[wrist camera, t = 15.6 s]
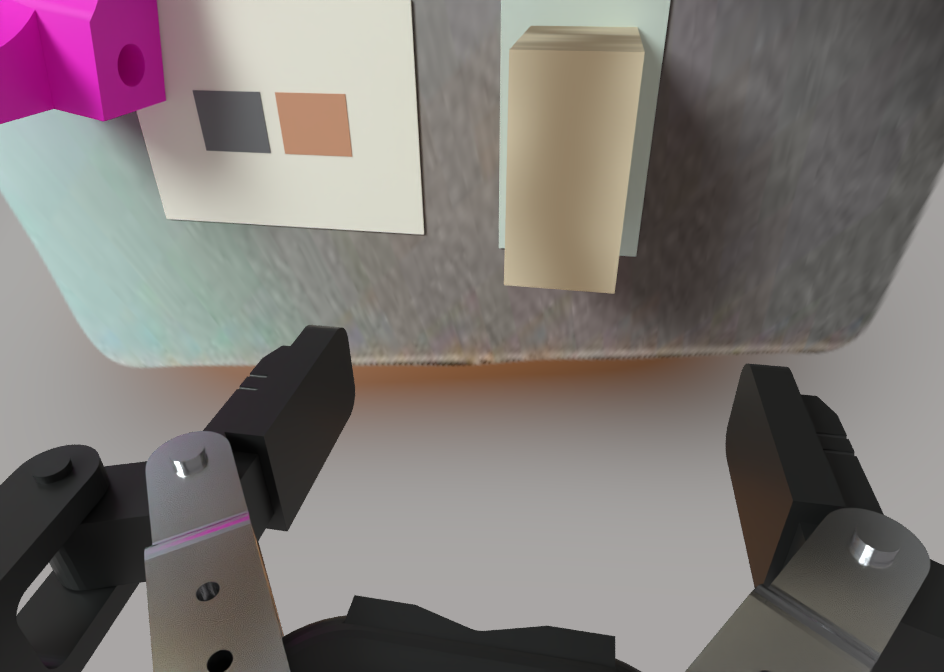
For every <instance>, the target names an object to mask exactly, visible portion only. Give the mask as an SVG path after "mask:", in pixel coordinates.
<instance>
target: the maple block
mask: <svg viewBox="0 0 944 672" xmlns="http://www.w3.org/2000/svg"><path fill="white" fill-rule="evenodd" d="M644 55H645V51H644V48H643V44H642V41H641V37H640V34H639V31H638V27H595V26H530V27H529V28H528V29H527V30H526V31H525V33H524V34H523V35H522V36H521V37H520V38H519V39H518V40H517V41H516V43H515V44H514V45H513V46H512V47H511V48H510V49H509V81H508V127H507V173H506V219H505V266H504V285H511V286H524V287H536V288H549V289H562V290H575V291H587V292H600V293H613V294H614V293H615V285H616V277H617V269H618V261H619V253H620V246H621V238H622V230H623V222H624V214H625V206H626V198H627V190H628V182H629V174H630V166H631V158H632V150H633V142H634V134H635V126H636V118H637V110H638V102H639V94H640V86H641V78H642V70H643V63H644Z"/></svg>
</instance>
